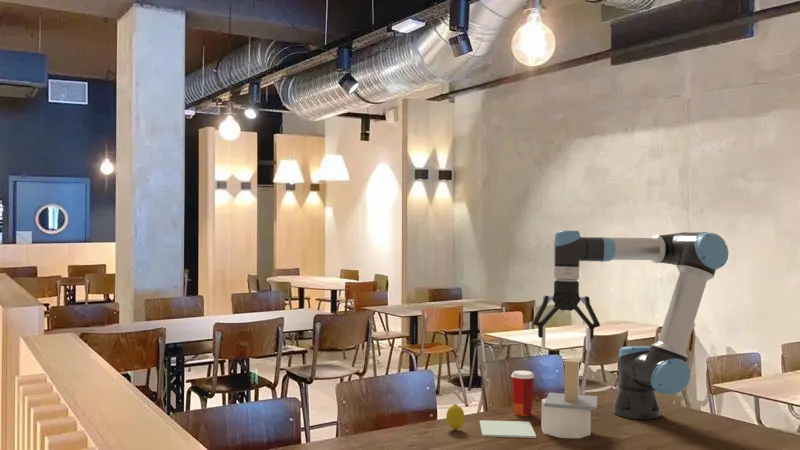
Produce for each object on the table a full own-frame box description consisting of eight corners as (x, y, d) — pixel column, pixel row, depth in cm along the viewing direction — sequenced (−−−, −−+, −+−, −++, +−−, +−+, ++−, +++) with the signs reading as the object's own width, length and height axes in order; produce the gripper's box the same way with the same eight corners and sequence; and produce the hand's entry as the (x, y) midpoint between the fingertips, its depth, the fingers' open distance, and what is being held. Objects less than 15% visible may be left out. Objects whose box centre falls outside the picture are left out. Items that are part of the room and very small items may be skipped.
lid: (597, 399, 219) (597, 358, 219) (596, 410, 205) (596, 366, 205) (549, 395, 224) (549, 355, 224) (544, 406, 209) (544, 363, 210)
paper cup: (533, 411, 239) (533, 370, 239) (535, 417, 231) (535, 375, 232) (509, 410, 240) (510, 369, 240) (511, 416, 232) (511, 374, 232)
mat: (529, 423, 224) (529, 421, 224) (536, 438, 208) (536, 436, 208) (479, 422, 225) (479, 420, 225) (482, 436, 209) (482, 434, 209)
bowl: (584, 425, 221) (584, 397, 222) (593, 438, 207) (593, 408, 208) (539, 424, 222) (539, 396, 222) (545, 437, 208) (546, 407, 208)
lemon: (452, 433, 211) (452, 407, 211) (442, 429, 216) (443, 403, 216) (467, 431, 214) (467, 405, 214) (458, 426, 219) (458, 401, 219)
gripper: (527, 280, 213) (526, 349, 212) (610, 281, 211) (609, 352, 211) (524, 278, 220) (523, 345, 220) (604, 280, 218) (603, 348, 218)
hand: (565, 349), depth 215 cm, fingers open, 13 cm apart
